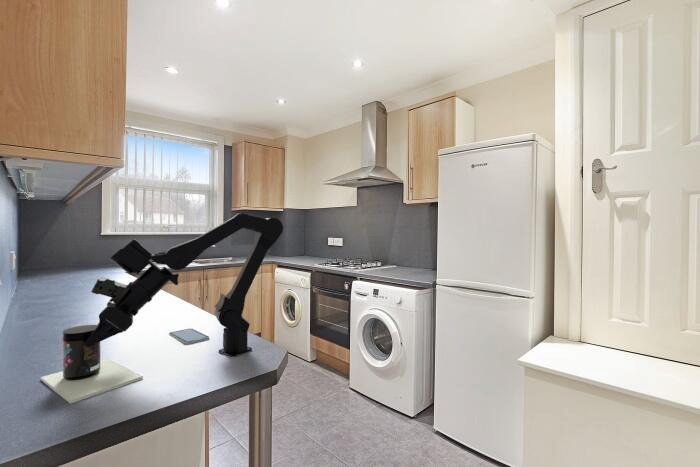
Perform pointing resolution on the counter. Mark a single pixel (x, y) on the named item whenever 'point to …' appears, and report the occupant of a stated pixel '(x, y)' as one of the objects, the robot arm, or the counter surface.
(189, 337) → the smartphone
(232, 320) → the robot arm
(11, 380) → the counter surface
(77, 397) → the mat
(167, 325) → the counter surface
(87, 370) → the supplement container
